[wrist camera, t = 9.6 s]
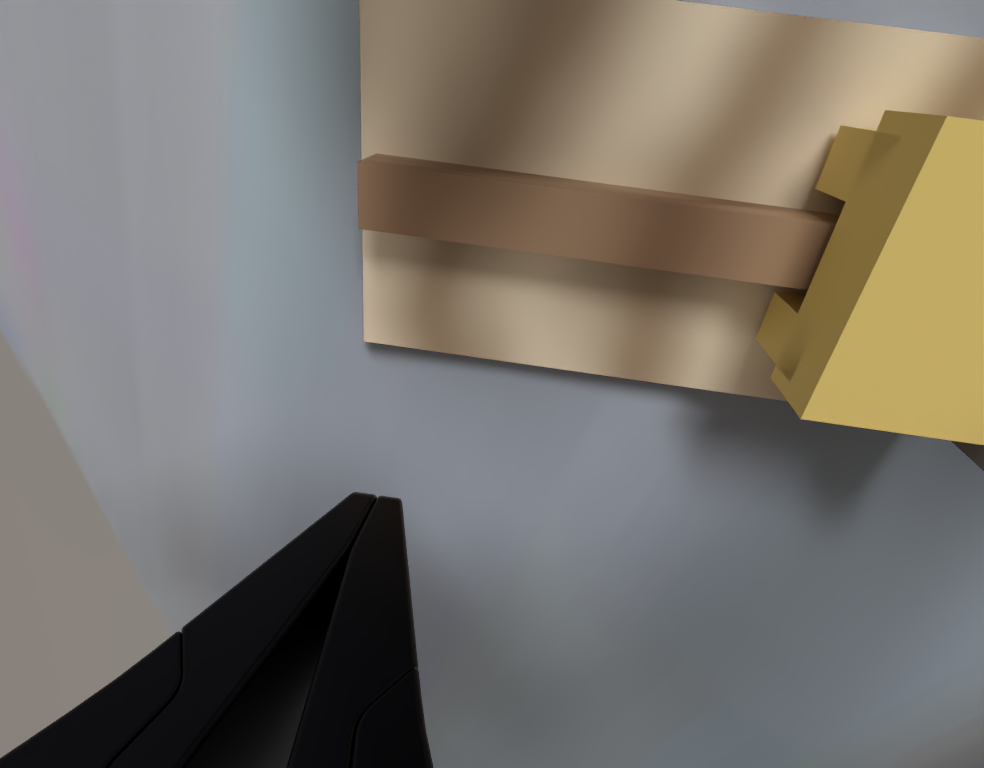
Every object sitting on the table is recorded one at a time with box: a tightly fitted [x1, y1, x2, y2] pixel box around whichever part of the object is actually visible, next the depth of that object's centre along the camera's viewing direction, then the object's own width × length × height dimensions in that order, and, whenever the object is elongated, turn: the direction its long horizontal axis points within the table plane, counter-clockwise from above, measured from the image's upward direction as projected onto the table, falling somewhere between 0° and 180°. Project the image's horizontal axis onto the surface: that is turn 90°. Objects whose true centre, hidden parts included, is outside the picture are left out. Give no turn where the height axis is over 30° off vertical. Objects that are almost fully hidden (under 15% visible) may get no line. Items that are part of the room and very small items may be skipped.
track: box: [358, 0, 984, 470], centre depth 16 cm, size 23×12×6 cm, turn 84°
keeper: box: [756, 110, 984, 445], centre depth 16 cm, size 6×8×4 cm
